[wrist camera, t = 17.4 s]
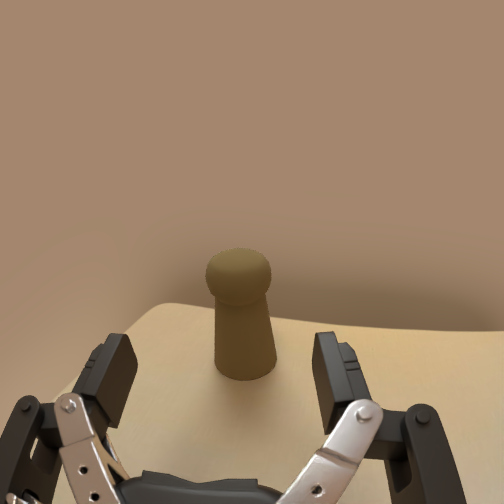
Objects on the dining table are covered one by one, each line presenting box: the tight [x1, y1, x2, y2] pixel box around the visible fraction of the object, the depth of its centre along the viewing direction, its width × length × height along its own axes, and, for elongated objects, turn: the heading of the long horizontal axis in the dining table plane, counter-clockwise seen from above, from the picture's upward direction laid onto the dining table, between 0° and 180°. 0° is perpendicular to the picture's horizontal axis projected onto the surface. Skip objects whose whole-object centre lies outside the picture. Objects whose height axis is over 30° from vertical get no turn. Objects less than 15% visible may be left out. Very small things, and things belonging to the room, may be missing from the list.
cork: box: [206, 248, 277, 380], centre depth 25 cm, size 6×6×11 cm
